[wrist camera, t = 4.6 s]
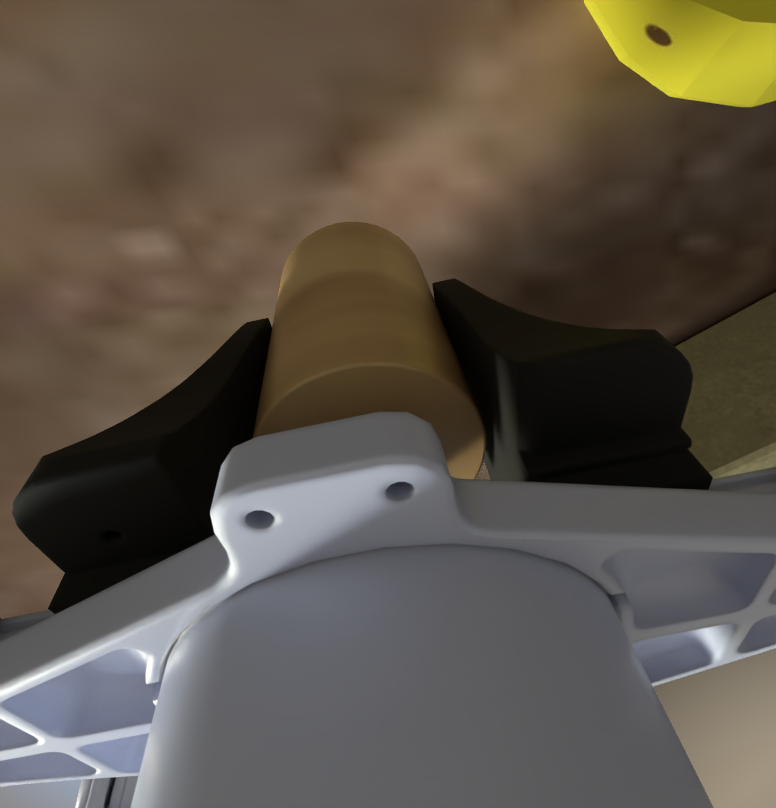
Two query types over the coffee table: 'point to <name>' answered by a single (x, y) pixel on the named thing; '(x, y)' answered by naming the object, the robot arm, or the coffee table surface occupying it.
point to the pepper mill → (365, 344)
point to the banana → (696, 46)
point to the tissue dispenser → (734, 392)
